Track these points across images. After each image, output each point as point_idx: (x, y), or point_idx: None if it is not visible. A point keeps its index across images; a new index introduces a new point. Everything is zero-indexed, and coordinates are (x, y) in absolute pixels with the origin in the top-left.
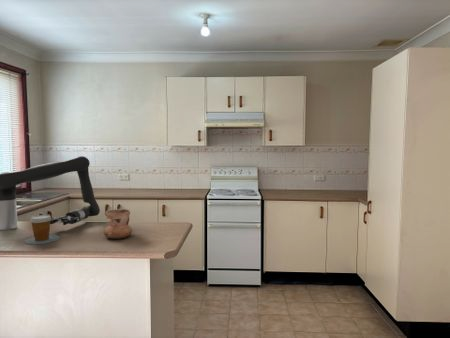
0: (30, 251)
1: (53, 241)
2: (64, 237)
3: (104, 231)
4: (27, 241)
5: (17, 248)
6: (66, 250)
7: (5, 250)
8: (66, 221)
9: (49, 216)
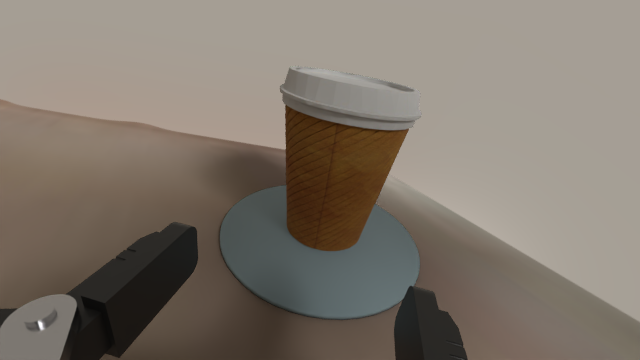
0: None
1: (244, 199)
2: None
3: None
4: (380, 215)
5: None
6: (172, 135)
7: None
8: (139, 247)
9: (291, 68)
